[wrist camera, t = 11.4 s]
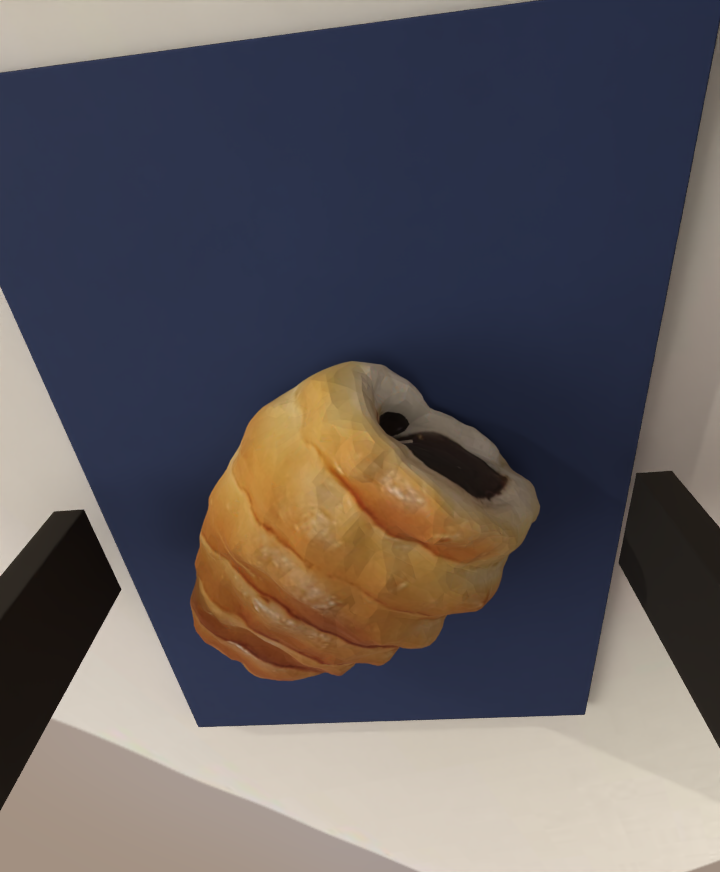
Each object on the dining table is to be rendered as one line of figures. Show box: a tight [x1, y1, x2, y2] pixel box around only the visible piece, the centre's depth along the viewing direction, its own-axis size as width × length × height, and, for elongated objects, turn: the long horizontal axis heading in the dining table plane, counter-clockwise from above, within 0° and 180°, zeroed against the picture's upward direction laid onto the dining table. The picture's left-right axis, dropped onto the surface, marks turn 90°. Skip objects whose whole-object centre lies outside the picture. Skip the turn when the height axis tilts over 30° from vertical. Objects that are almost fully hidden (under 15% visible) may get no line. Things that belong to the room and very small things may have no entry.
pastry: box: [190, 361, 540, 681], centre depth 13 cm, size 9×7×4 cm
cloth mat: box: [0, 0, 720, 727], centre depth 14 cm, size 14×20×1 cm
